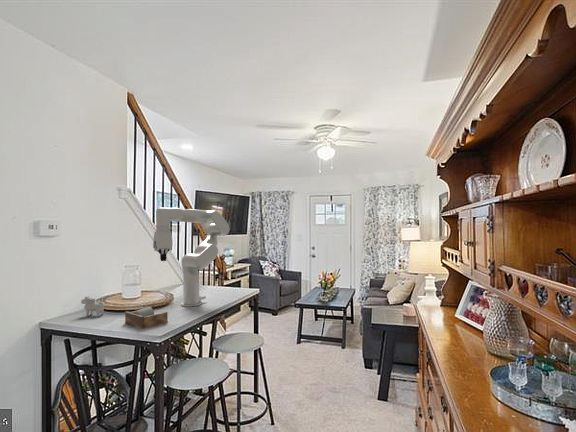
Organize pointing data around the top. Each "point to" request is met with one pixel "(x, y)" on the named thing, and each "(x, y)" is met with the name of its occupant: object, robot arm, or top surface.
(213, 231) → the robot arm
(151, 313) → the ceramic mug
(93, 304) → the grey animal figurine
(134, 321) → the open wooden box
